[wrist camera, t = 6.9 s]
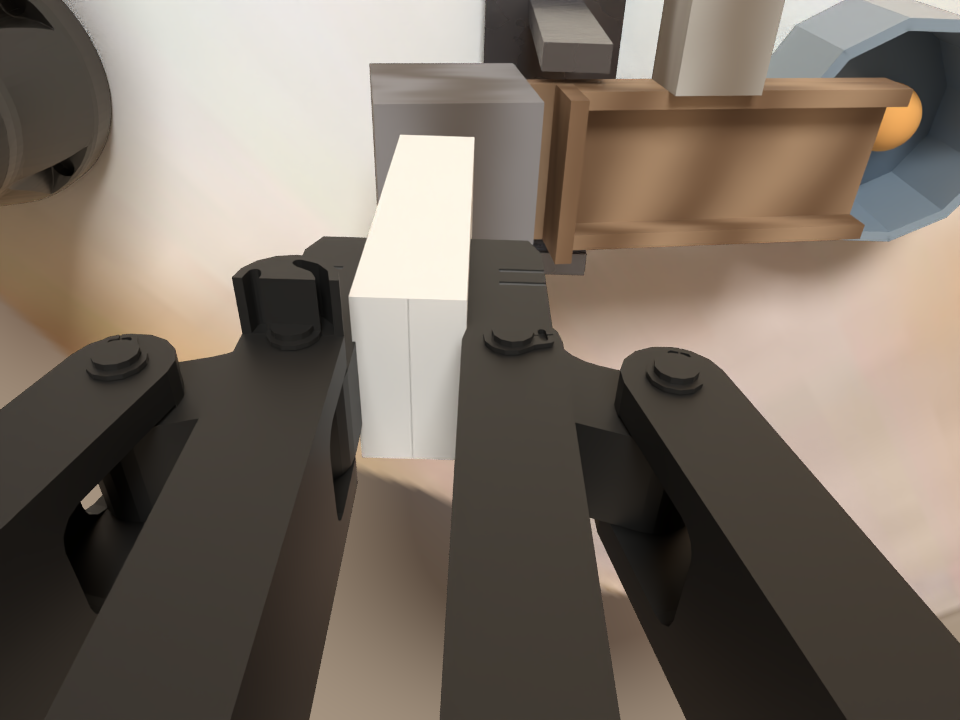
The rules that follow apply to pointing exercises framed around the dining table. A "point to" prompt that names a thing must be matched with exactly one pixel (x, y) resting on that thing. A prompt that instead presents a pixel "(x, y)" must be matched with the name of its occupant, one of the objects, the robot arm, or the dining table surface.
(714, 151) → the lever
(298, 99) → the dining table surface
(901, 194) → the cup
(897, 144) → the ball
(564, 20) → the lever stand
